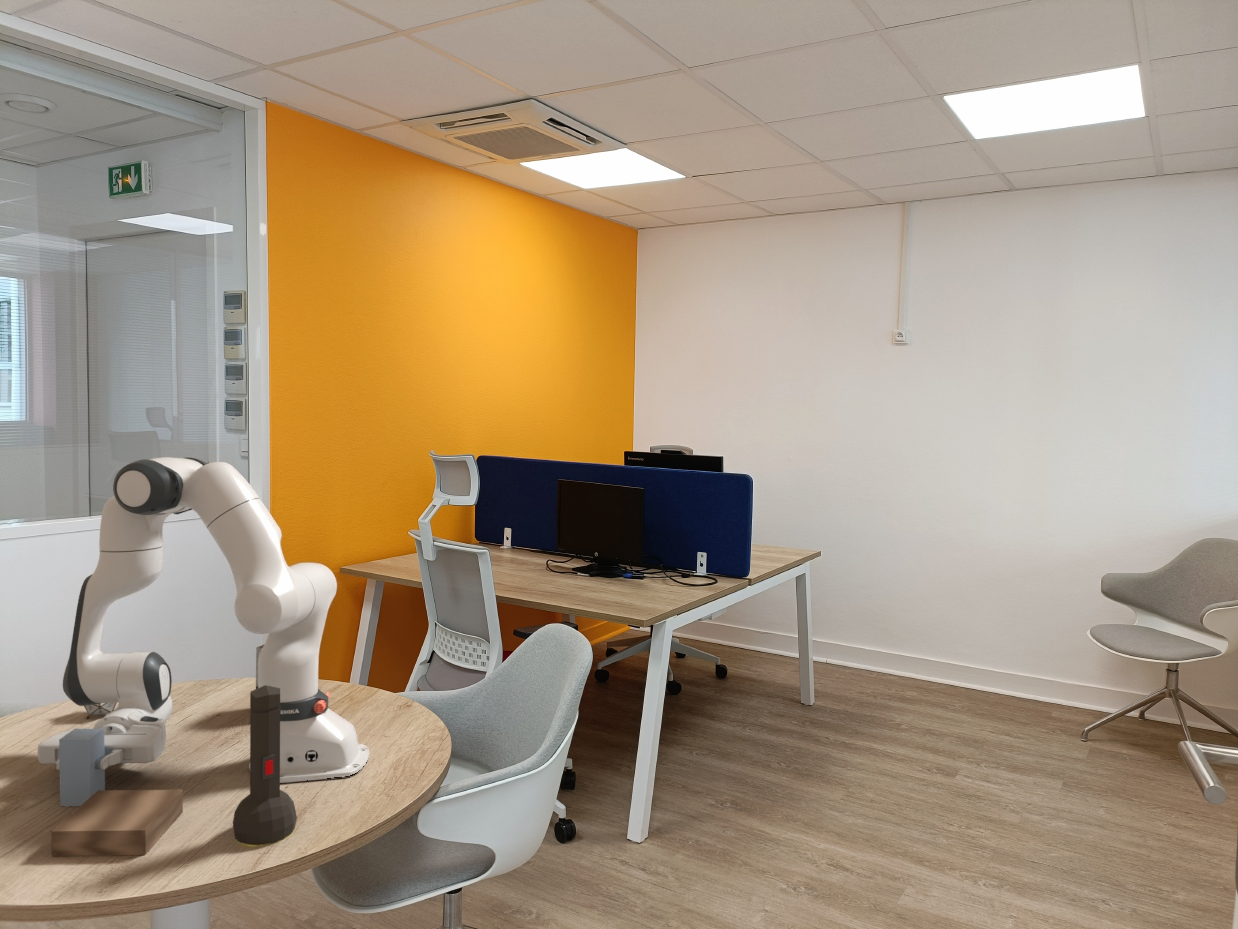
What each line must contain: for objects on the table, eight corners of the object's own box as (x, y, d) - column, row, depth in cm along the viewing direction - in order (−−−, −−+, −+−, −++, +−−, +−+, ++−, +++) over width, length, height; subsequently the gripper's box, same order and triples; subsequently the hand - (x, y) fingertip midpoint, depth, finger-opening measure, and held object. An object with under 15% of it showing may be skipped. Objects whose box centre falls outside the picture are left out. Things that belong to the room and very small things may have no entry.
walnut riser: (182, 812, 148) (182, 789, 148) (145, 854, 135) (145, 830, 134) (98, 813, 147) (97, 790, 147) (51, 856, 133) (51, 831, 133)
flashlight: (226, 826, 144) (240, 853, 136) (226, 681, 142) (240, 699, 134) (287, 811, 150) (303, 836, 142) (288, 672, 148) (304, 688, 140)
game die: (105, 733, 190) (103, 707, 184) (69, 719, 190) (66, 692, 184) (132, 702, 197) (131, 676, 191) (97, 688, 197) (96, 662, 191)
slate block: (105, 793, 154) (104, 728, 154) (90, 806, 149) (89, 739, 149) (75, 793, 154) (74, 728, 153) (60, 806, 149) (59, 739, 148)
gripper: (61, 719, 163) (16, 748, 149) (173, 719, 165) (139, 748, 151) (61, 751, 163) (17, 783, 150) (173, 750, 165) (139, 782, 151)
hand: (79, 765), depth 150 cm, fingers closed on slate block, 5 cm apart
